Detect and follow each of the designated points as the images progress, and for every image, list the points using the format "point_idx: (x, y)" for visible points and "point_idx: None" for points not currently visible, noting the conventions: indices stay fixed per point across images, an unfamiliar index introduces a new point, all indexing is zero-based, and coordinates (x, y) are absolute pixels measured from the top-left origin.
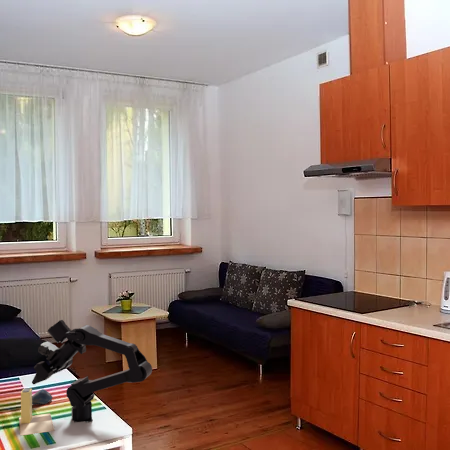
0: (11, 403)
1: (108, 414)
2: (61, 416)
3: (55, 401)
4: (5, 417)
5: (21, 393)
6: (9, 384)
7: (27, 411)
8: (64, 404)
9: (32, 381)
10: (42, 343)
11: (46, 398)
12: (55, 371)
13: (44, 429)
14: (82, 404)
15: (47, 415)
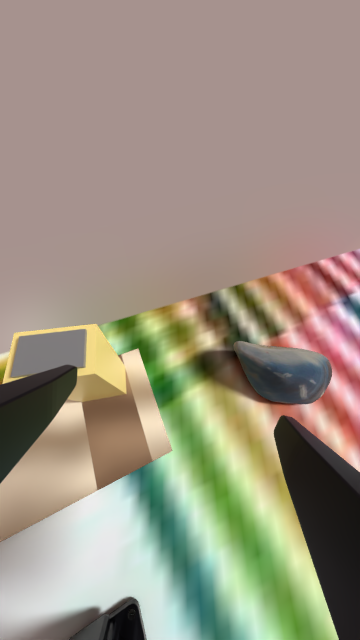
0: (249, 296)
1: None
2: (157, 512)
3: (298, 418)
4: (153, 311)
5: (16, 337)
6: (355, 259)
7: None
8: (282, 470)
9: (53, 370)
10: None
11: (276, 393)
12: (340, 603)
13: None
14: None
15: (150, 446)
